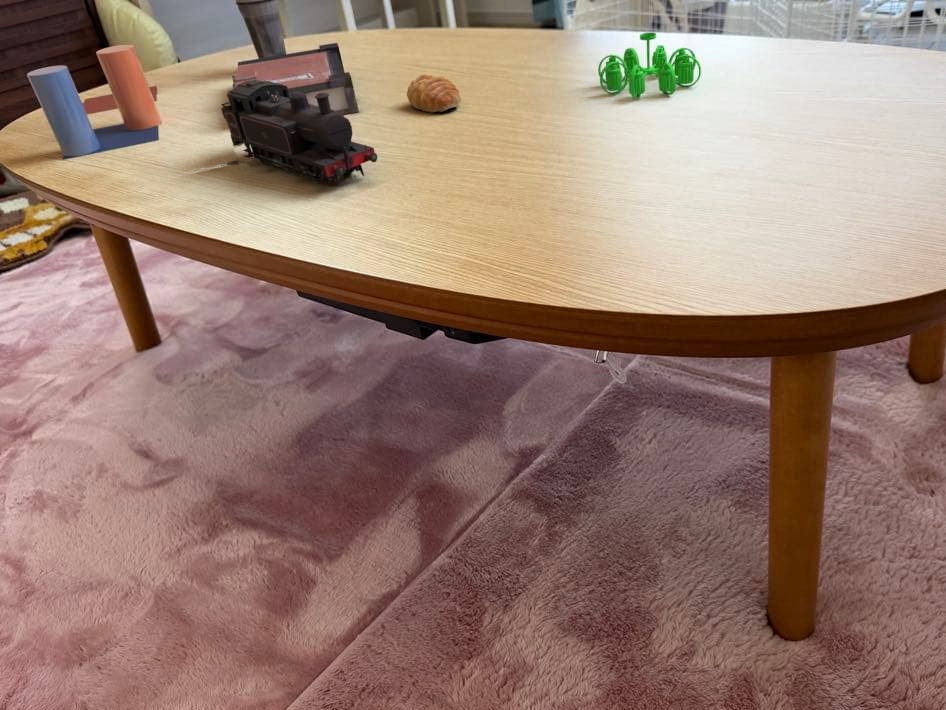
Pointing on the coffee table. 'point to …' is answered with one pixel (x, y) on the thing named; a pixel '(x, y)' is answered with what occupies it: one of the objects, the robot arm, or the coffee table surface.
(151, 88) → the terracotta mat
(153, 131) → the blue mat
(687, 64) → the chandelier
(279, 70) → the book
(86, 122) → the tall blue cylinder
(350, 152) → the toy train
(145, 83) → the tall orange cylinder
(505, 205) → the coffee table surface
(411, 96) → the pastry
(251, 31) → the beverage cup
